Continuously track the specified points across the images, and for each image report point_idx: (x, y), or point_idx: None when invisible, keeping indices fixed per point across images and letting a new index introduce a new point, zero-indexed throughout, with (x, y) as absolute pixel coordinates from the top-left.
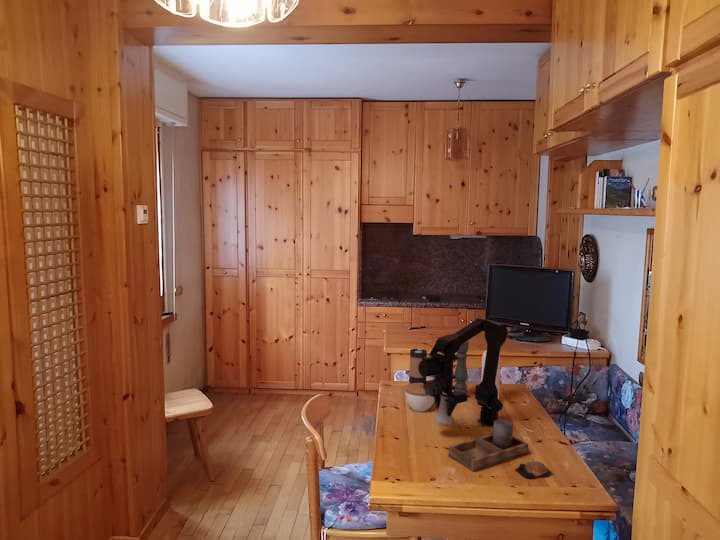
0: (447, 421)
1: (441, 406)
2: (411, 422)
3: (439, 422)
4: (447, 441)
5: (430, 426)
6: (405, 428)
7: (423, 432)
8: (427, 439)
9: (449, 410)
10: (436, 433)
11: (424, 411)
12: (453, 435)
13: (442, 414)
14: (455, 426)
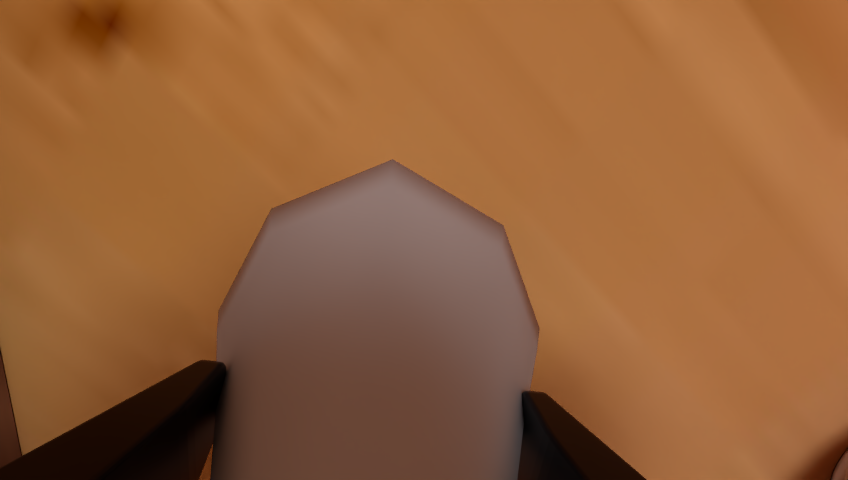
0: (238, 291)
1: (338, 470)
2: (821, 199)
3: (339, 192)
4: (249, 160)
5: (611, 282)
6: (794, 20)
7: (572, 116)
8: (416, 7)
9: (35, 471)
10: None
11: (842, 457)
12: None
13: (299, 310)
14: None
